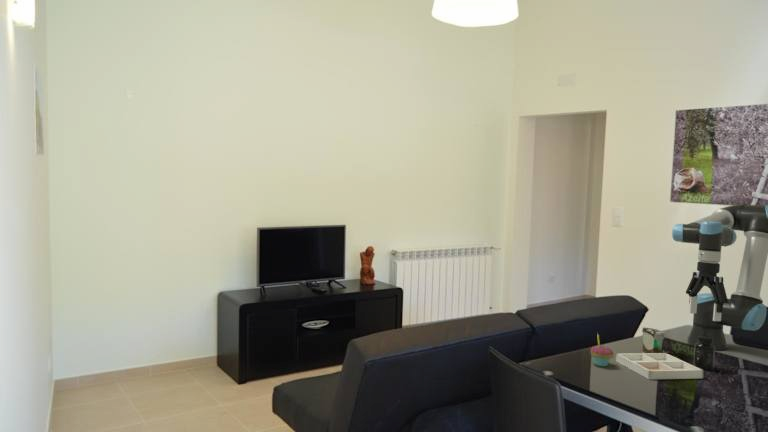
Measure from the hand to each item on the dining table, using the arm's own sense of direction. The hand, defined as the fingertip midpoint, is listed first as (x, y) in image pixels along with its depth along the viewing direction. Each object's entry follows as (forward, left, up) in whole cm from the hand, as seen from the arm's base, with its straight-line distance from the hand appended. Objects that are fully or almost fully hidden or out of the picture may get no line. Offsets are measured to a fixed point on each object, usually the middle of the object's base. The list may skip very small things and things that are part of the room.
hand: (704, 317), depth 225 cm
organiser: (+20, +2, -20) cm, 28 cm away
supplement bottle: (0, +1, -20) cm, 20 cm away
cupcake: (+39, -5, -20) cm, 44 cm away
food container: (+9, -16, -20) cm, 27 cm away
